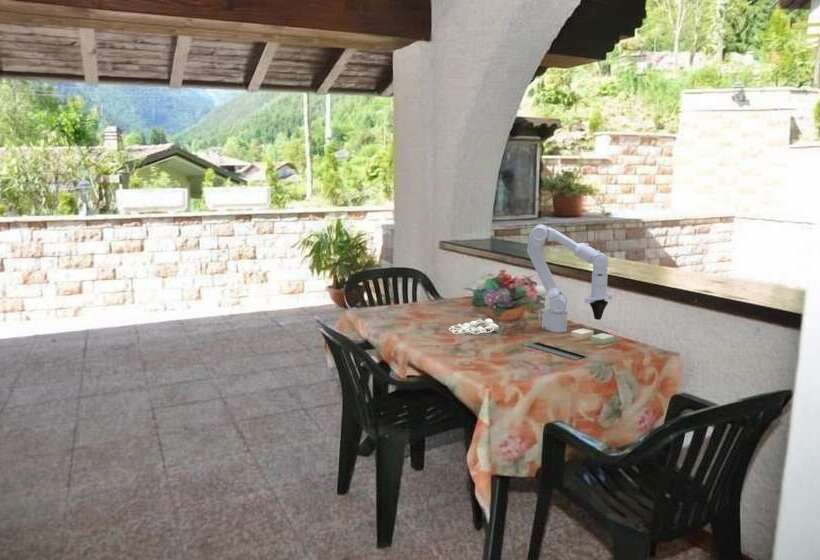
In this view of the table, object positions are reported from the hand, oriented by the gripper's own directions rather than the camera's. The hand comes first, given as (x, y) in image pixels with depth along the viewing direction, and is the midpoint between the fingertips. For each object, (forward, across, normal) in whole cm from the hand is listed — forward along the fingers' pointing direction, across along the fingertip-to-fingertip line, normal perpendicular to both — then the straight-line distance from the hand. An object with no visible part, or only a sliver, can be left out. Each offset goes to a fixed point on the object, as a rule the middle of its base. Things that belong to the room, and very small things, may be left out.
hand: (597, 319), depth 230 cm
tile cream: (+5, -9, 0) cm, 11 cm away
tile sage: (+5, -9, -9) cm, 14 cm away
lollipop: (+7, +3, +32) cm, 33 cm away
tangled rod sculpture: (+7, -33, +34) cm, 48 cm away
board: (+7, -10, -4) cm, 13 cm away
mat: (+7, -25, -4) cm, 26 cm away
